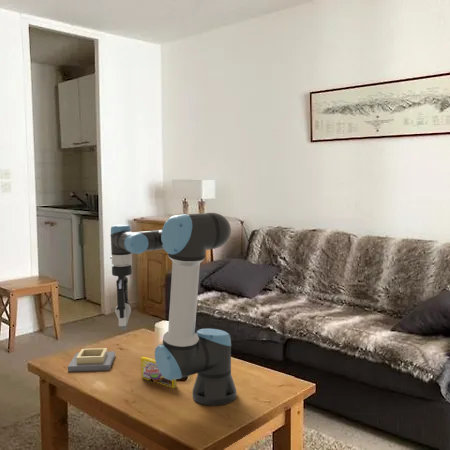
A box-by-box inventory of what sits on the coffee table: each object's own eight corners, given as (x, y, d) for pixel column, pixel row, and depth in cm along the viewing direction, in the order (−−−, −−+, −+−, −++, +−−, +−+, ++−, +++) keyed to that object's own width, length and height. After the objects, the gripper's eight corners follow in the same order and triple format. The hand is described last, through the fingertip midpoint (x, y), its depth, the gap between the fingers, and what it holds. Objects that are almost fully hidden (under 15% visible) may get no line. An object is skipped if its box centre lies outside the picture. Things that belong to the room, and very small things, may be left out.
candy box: (140, 378, 197) (140, 357, 196) (144, 377, 199) (144, 355, 198) (173, 388, 188) (172, 366, 187) (177, 386, 189) (176, 364, 188)
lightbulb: (133, 328, 207) (132, 301, 206) (129, 332, 201) (128, 304, 200) (118, 328, 208) (117, 300, 207) (113, 332, 202) (112, 304, 201)
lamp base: (109, 370, 206) (109, 358, 205) (68, 371, 205) (67, 360, 204) (115, 355, 222) (114, 345, 221) (76, 357, 221) (76, 346, 220)
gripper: (115, 260, 211) (117, 317, 213) (108, 269, 192) (110, 330, 194) (134, 260, 212) (135, 316, 214) (128, 268, 193) (130, 330, 195)
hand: (123, 323), depth 204 cm, fingers closed on lightbulb, 6 cm apart
